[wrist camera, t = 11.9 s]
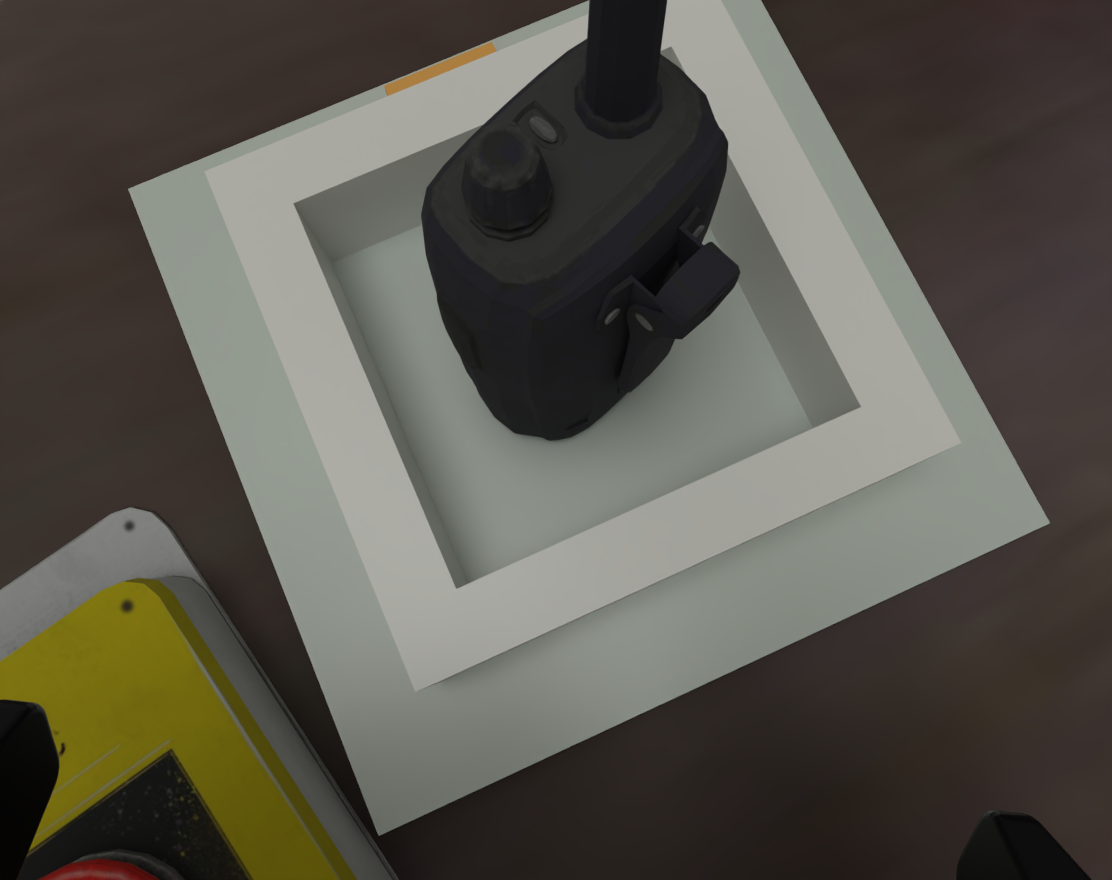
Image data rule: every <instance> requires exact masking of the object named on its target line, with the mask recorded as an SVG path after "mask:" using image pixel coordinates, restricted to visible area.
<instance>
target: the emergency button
mask: <svg viewBox="0 0 1112 880" xmlns="http://www.w3.org/2000/svg"><path fill="white" fill-rule="evenodd" d="M4 699H7V700H16V701H25V702H34V703H37V704H39V705H40V706H41V707H43V708H44V710H45V712H46V715H47V718H48V722H49V725H50V728H51V732H52V735H53V738H54V742H55V745H56V748H57V752H58V755H59V764H60V767H59V774H58V778H57V782H56V785H55V787H54V790H53V792H52V795H51V797H50V800H49V802H48V805H47V807H46V810H45V812H44V815H43V817H42V820H41V822H40V825H39V827H38V829H37V832H36V834H35V837H34V839H33V842H32V844H31V847H30V849H29V852H28V854H27V857H26V859H25V862H24V864H23V867H22V869H21V872H20V874H19V876H18V879H17V880H399V878H398V877H397V875H396V874H395V872H394V871H393V869H392V868H391V866H390V865H389V863H388V862H387V860H386V858H385V857H384V855H383V854H382V852H381V851H380V849H379V848H378V846H377V845H376V843H375V842H374V840H373V838H372V837H371V835H370V834H369V832H368V831H367V829H366V828H365V826H364V825H363V823H362V822H361V820H360V818H359V817H358V815H357V814H356V812H355V811H354V809H353V808H352V806H351V805H350V803H349V802H348V800H347V798H346V797H345V795H344V794H343V792H342V791H341V789H340V788H339V786H338V785H337V783H336V782H335V780H334V778H333V777H332V775H331V774H330V772H329V771H328V769H327V768H326V766H325V765H324V763H323V761H322V760H321V758H320V757H319V755H318V754H317V752H316V751H315V749H314V748H313V746H312V745H311V743H310V741H309V740H308V738H307V737H306V735H305V734H304V732H303V731H302V729H301V728H300V726H299V725H298V723H297V721H296V720H295V718H294V717H293V715H292V714H291V712H290V711H289V709H288V708H287V706H286V705H285V703H284V701H283V700H282V698H281V697H280V695H279V694H278V692H277V691H276V689H275V688H274V686H273V685H272V683H271V681H270V680H269V678H268V677H267V675H266V674H265V672H264V671H263V669H262V668H261V666H260V665H259V663H258V661H257V660H256V658H255V657H254V655H253V654H252V652H251V651H250V649H249V648H248V646H247V645H246V643H245V641H244V640H243V638H242V637H241V635H240V634H239V632H238V631H237V629H236V628H235V626H234V625H233V623H232V621H231V620H230V618H229V617H228V615H227V614H226V612H225V611H224V609H223V608H222V606H221V605H220V603H219V601H218V600H217V598H216V597H215V595H214V594H213V592H212V591H211V589H210V588H209V586H208V585H207V583H206V581H205V580H204V578H203V577H202V575H201V574H200V572H199V571H198V569H197V568H196V566H195V565H194V563H193V561H192V560H191V558H190V557H189V555H188V554H187V552H186V551H185V549H184V548H183V546H182V545H181V543H180V541H179V540H178V538H177V537H176V535H175V534H174V532H173V531H172V529H171V528H170V527H169V526H168V525H167V524H166V523H165V522H164V521H163V520H162V519H161V518H159V517H158V516H157V515H156V514H155V513H152V512H148V511H144V510H140V509H136V508H131V507H130V508H127V509H124V510H121V511H118V512H115V513H112V514H110V515H108V516H107V517H106V518H104V519H103V520H101V521H100V522H98V523H97V524H95V525H94V526H92V527H91V528H90V529H88V530H87V531H85V532H84V533H82V534H81V535H79V536H78V537H77V538H75V539H74V540H72V541H71V542H69V543H68V544H66V545H65V546H63V547H62V548H61V549H59V550H58V551H56V552H55V553H53V554H52V555H50V556H49V557H47V558H46V559H45V560H43V561H42V562H40V563H39V564H37V565H36V566H34V567H33V568H31V569H30V570H29V571H27V572H26V573H24V574H23V575H21V576H20V577H18V578H17V579H16V580H14V581H13V582H11V583H10V584H8V585H7V586H5V587H4V588H2V589H1V590H0V700H4Z"/></svg>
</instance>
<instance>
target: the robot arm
mask: <svg viewBox="0 0 1112 880" xmlns="http://www.w3.org/2000/svg"><path fill="white" fill-rule="evenodd" d="M59 767H60V764H59V755H58V752H57V748H56V745H55V742H54V738H53V735H52V732H51V728H50V725H49V722H48V718H47V715H46V712H45V710H44V708H43V707H41V706H40V705H39V704H37V703H34V702H25V701H16V700H7V699H4V700H0V880H17V879H18V876H19V874H20V872H21V869H22V867H23V864H24V862H25V859H26V857H27V854H28V852H29V849H30V847H31V844H32V842H33V839H34V837H35V834H36V832H37V829H38V827H39V825H40V822H41V820H42V817H43V815H44V812H45V810H46V807H47V805H48V802H49V800H50V797H51V795H52V792H53V790H54V787H55V785H56V782H57V778H58V774H59ZM956 880H1091V879H1090V877H1089V876H1088V875H1087V874H1086V873H1085V872H1084V871H1083V870H1082V869H1081V867H1080V866H1079V865H1078V864H1077V863H1076V862H1075V861H1074V860H1073V859H1072V858H1071V856H1070V855H1069V854H1068V853H1067V852H1066V851H1065V850H1064V849H1063V848H1062V846H1061V845H1060V844H1059V843H1058V842H1057V841H1056V840H1055V839H1054V838H1053V837H1052V835H1051V834H1050V833H1049V832H1048V831H1047V830H1046V829H1045V828H1044V827H1043V826H1042V824H1041V823H1040V822H1038V821H1037V820H1036V819H1034V818H1033V817H1031V816H1030V815H1027V814H1023V813H1014V812H1005V811H996V810H990V811H988V812H986V813H985V814H983V815H982V817H981V818H980V820H979V822H978V824H977V826H976V828H975V830H974V832H973V833H972V835H971V837H970V839H969V841H968V843H967V845H966V847H965V849H964V851H963V853H962V855H961V857H960V859H959V862H958V866H957V874H956Z"/></svg>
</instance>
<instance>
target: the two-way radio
mask: <svg viewBox="0 0 1112 880" xmlns="http://www.w3.org/2000/svg"><path fill="white" fill-rule="evenodd" d="M666 6H667V0H589V15H588V31H587V39H585V40H584V41H582V42H581V43H579V44H578V45H576V46H574V47H573V48H571V49H570V50H568V51H567V52H566V53H564V54H563V55H562V56H561V57H559V58H558V59H557V60H556V61H554V62H553V63H552V64H551V65H549V66H548V67H547V68H546V69H545V70H543V71H542V72H541V73H540V74H538V75H537V76H536V77H535V78H534V79H533V80H532V81H530V82H529V83H528V84H527V85H526V86H525V87H524V88H523V89H521V90H520V91H519V92H518V93H517V94H516V95H515V96H514V97H513V98H512V99H510V100H509V101H508V102H507V103H506V104H505V105H504V106H503V107H502V108H501V109H500V110H499V111H497V112H496V113H495V114H494V115H493V116H492V117H491V118H490V119H489V120H488V121H487V122H486V123H485V124H484V125H483V126H482V127H481V128H480V129H478V130H477V131H476V132H475V133H474V134H473V135H472V136H471V137H470V138H469V139H468V140H467V141H466V142H465V143H464V144H463V145H462V147H461V148H460V149H459V150H458V151H457V152H456V153H455V154H454V155H453V156H452V157H451V158H450V159H449V160H448V161H447V162H446V163H445V164H444V166H443V167H442V168H441V169H440V171H439V172H438V173H437V175H436V176H435V177H434V179H433V180H432V181H431V183H430V184H429V185H428V187H427V188H426V193H425V198H424V202H423V207H422V212H421V220H422V228H423V236H424V245H425V253H426V258H427V262H428V265H429V269H430V272H431V276H432V279H433V283H434V287H435V290H436V293H437V303H438V307H439V310H440V314H441V318H442V321H443V324H444V326H445V329H446V331H447V333H448V335H449V337H450V339H451V341H452V343H453V345H454V347H455V349H456V351H457V352H458V354H459V355H460V358H461V360H462V363H463V365H464V367H465V370H466V372H467V374H468V375H469V376H470V378H471V379H472V381H473V383H474V385H475V386H476V388H477V391H478V393H479V395H480V397H481V398H482V400H483V401H484V403H485V404H486V406H487V407H488V409H489V410H490V412H491V413H492V415H493V416H494V417H495V418H496V419H497V420H498V421H500V422H501V423H502V424H503V425H505V426H506V427H507V428H508V429H510V430H511V431H512V432H513V433H516V434H521V435H528V436H535V437H542V438H544V439H546V440H548V441H554V440H561V439H566V438H570V437H573V436H575V435H576V434H578V433H580V432H582V431H584V430H585V429H587V428H589V427H590V426H592V425H593V424H594V423H595V422H596V421H597V420H599V419H600V418H601V417H602V416H603V415H604V414H606V413H607V412H608V411H609V410H610V409H611V408H612V407H613V406H614V405H615V404H616V403H617V402H618V401H620V400H621V399H622V398H623V397H624V396H625V395H626V394H627V392H631V391H633V390H634V389H635V388H636V387H637V386H639V385H640V384H641V383H642V382H643V381H644V380H645V379H646V378H647V377H648V376H650V375H651V374H652V372H653V371H654V370H655V369H656V368H657V367H658V366H659V364H660V363H661V362H662V361H663V360H664V359H665V358H666V356H667V355H668V354H669V352H670V350H671V348H672V345H673V343H674V341H675V339H683V338H684V337H686V336H687V335H688V334H689V333H690V332H691V331H693V330H694V329H695V328H696V327H697V326H698V325H699V324H701V323H702V322H703V321H704V320H705V319H706V318H708V317H709V316H710V315H711V314H712V313H713V311H714V310H715V309H716V308H717V307H718V306H719V304H720V303H721V302H722V301H723V300H724V299H725V298H726V296H727V295H728V294H729V293H730V292H731V291H732V289H733V288H734V287H735V285H736V283H737V281H738V278H739V275H740V269H739V266H738V265H737V264H736V263H735V262H734V261H732V260H731V259H730V258H729V257H728V256H727V255H726V254H725V253H723V252H722V251H721V250H720V249H719V247H717V246H716V245H715V244H714V243H713V242H708V243H707V244H705V245H703V244H702V241H703V239H704V237H705V235H706V233H707V230H708V228H709V225H710V222H711V219H712V216H713V213H714V210H715V207H716V204H717V201H718V198H719V195H720V192H721V188H722V185H723V181H724V178H725V174H726V170H727V156H728V140H727V138H726V136H725V134H724V132H723V131H722V130H721V129H720V128H719V126H718V124H717V122H716V120H715V117H714V114H713V112H712V109H711V106H710V104H709V101H708V99H707V96H706V94H705V93H704V92H703V91H702V90H701V89H700V88H699V87H698V86H697V85H696V84H695V83H694V82H693V81H692V80H691V79H690V78H689V77H688V76H687V75H686V74H685V73H684V72H683V71H682V70H681V69H680V68H679V67H678V66H677V65H675V64H674V63H673V62H671V61H670V60H668V59H667V58H666V57H664V56H663V55H661V54H660V52H661V44H662V37H663V29H664V21H665V14H666Z"/></svg>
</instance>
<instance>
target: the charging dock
mask: <svg viewBox="0 0 1112 880" xmlns="http://www.w3.org/2000/svg"><path fill="white" fill-rule="evenodd" d="M588 15H589V1H586V2H584V3H582V4H579V5H577V6H574V7H572V8H569V9H567V10H564V11H562V12H560V13H557V14H555V15H552V16H550V17H547V18H545V19H542V20H540V21H538V22H535V23H533V24H530V25H528V26H525V27H523V28H520V29H518V30H516V31H513V32H511V33H508V34H506V35H503V36H501V37H498V38H496V39H494V40H491V41H489V42H486V43H484V44H481V45H479V46H476V47H474V48H472V49H469V50H467V51H464V52H462V53H459V54H457V55H454V56H452V57H450V58H447V59H445V60H442V61H440V62H437V63H435V64H432V65H430V66H428V67H425V68H423V69H420V70H418V71H415V72H413V73H410V74H408V75H406V76H403V77H401V78H398V79H396V80H393V81H391V82H388V83H386V84H384V85H381V86H379V87H376V88H374V89H371V90H369V91H366V92H364V93H362V94H359V95H357V96H354V97H352V98H349V99H347V100H344V101H342V102H340V103H337V104H335V105H332V106H330V107H327V108H325V109H322V110H320V111H318V112H315V113H313V114H310V115H308V116H305V117H303V118H300V119H298V120H296V121H293V122H291V123H288V124H286V125H283V126H281V127H278V128H276V129H274V130H271V131H269V132H266V133H264V134H261V135H259V136H256V137H254V138H252V139H249V140H247V141H244V142H242V143H239V144H237V145H234V146H232V147H230V148H227V149H225V150H222V151H220V152H217V153H215V154H212V155H210V156H208V157H205V158H203V159H200V160H198V161H195V162H193V163H190V164H188V165H186V166H183V167H181V168H178V169H176V170H173V171H171V172H168V173H166V174H164V175H161V176H159V177H156V178H154V179H151V180H149V181H146V182H144V183H142V184H139V185H137V186H134V187H132V188H129V189H128V190H129V192H130V195H131V197H132V200H133V203H134V205H135V208H136V210H137V213H138V215H139V218H140V221H141V223H142V226H143V228H144V231H145V234H146V236H147V239H148V241H149V244H150V246H151V249H152V252H153V254H154V257H155V259H156V262H157V265H158V267H159V270H160V272H161V275H162V278H163V280H164V283H165V285H166V288H167V290H168V293H169V296H170V298H171V301H172V303H173V306H174V309H175V311H176V314H177V316H178V319H179V321H180V324H181V327H182V329H183V332H184V334H185V337H186V340H187V342H188V345H189V347H190V350H191V352H192V355H193V358H194V360H195V363H196V365H197V368H198V371H199V373H200V376H201V378H202V381H203V384H204V386H205V389H206V391H207V394H208V396H209V399H210V402H211V404H212V407H213V409H214V412H215V415H216V417H217V420H218V422H219V425H220V427H221V430H222V433H223V435H224V438H225V440H226V443H227V446H228V448H229V451H230V453H231V456H232V459H233V461H234V464H235V466H236V469H237V471H238V474H239V477H240V479H241V482H242V484H243V487H244V490H245V492H246V495H247V497H248V500H249V502H250V505H251V508H252V510H253V513H254V515H255V518H256V521H257V523H258V526H259V528H260V531H261V533H262V536H263V539H264V541H265V544H266V546H267V549H268V552H269V554H270V557H271V559H272V562H273V565H274V567H275V570H276V572H277V575H278V577H279V580H280V583H281V585H282V588H283V590H284V593H285V596H286V598H287V601H288V603H289V606H290V608H291V611H292V614H293V616H294V619H295V621H296V624H297V627H298V629H299V632H300V634H301V637H302V639H303V642H304V645H305V647H306V650H307V652H308V655H309V658H310V660H311V663H312V665H313V668H314V671H315V673H316V676H317V678H318V681H319V683H320V686H321V689H322V691H323V694H324V696H325V699H326V702H327V704H328V707H329V709H330V712H331V714H332V717H333V720H334V722H335V725H336V727H337V730H338V733H339V735H340V738H341V740H342V743H343V746H344V748H345V751H346V753H347V756H348V758H349V761H350V764H351V766H352V769H353V771H354V774H355V777H356V779H357V782H358V784H359V787H360V789H361V792H362V795H363V797H364V800H365V802H366V805H367V808H368V810H369V813H370V815H371V818H372V820H373V823H374V826H375V828H376V831H377V833H378V836H380V835H382V834H384V833H386V832H388V831H391V830H393V829H395V828H397V827H399V826H401V825H403V824H406V823H408V822H410V821H412V820H414V819H416V818H418V817H421V816H423V815H425V814H427V813H429V812H431V811H433V810H436V809H438V808H440V807H442V806H444V805H446V804H448V803H451V802H453V801H455V800H457V799H459V798H461V797H463V796H466V795H468V794H470V793H472V792H474V791H476V790H478V789H481V788H483V787H485V786H487V785H489V784H491V783H494V782H496V781H498V780H500V779H502V778H504V777H506V776H509V775H511V774H513V773H515V772H517V771H519V770H521V769H524V768H526V767H528V766H530V765H532V764H534V763H536V762H539V761H541V760H543V759H545V758H547V757H549V756H551V755H554V754H556V753H558V752H560V751H562V750H564V749H566V748H569V747H571V746H573V745H575V744H577V743H579V742H581V741H584V740H586V739H588V738H590V737H592V736H594V735H596V734H599V733H601V732H603V731H605V730H607V729H609V728H611V727H614V726H616V725H618V724H620V723H622V722H624V721H627V720H629V719H631V718H633V717H635V716H637V715H639V714H642V713H644V712H646V711H648V710H650V709H652V708H654V707H657V706H659V705H661V704H663V703H665V702H667V701H669V700H672V699H674V698H676V697H678V696H680V695H682V694H684V693H687V692H689V691H691V690H693V689H695V688H697V687H699V686H702V685H704V684H706V683H708V682H710V681H712V680H714V679H717V678H719V677H721V676H723V675H725V674H727V673H729V672H732V671H734V670H736V669H738V668H740V667H742V666H744V665H747V664H749V663H751V662H753V661H755V660H757V659H760V658H762V657H764V656H766V655H768V654H770V653H772V652H775V651H777V650H779V649H781V648H783V647H785V646H787V645H790V644H792V643H794V642H796V641H798V640H800V639H802V638H805V637H807V636H809V635H811V634H813V633H815V632H817V631H820V630H822V629H824V628H826V627H828V626H830V625H832V624H835V623H837V622H839V621H841V620H843V619H845V618H847V617H850V616H852V615H854V614H856V613H858V612H860V611H862V610H865V609H867V608H869V607H871V606H873V605H875V604H877V603H880V602H882V601H884V600H886V599H888V598H890V597H893V596H895V595H897V594H899V593H901V592H903V591H905V590H908V589H910V588H912V587H914V586H916V585H918V584H920V583H923V582H925V581H927V580H929V579H931V578H933V577H935V576H938V575H940V574H942V573H944V572H946V571H948V570H950V569H953V568H955V567H957V566H959V565H961V564H963V563H965V562H968V561H970V560H972V559H974V558H976V557H978V556H980V555H983V554H985V553H987V552H989V551H991V550H993V549H995V548H998V547H1000V546H1002V545H1004V544H1006V543H1008V542H1010V541H1013V540H1015V539H1017V538H1019V537H1021V536H1023V535H1026V534H1028V533H1030V532H1032V531H1034V530H1036V529H1038V528H1041V527H1043V526H1045V525H1047V524H1049V521H1048V519H1047V517H1046V515H1045V513H1044V512H1043V510H1042V508H1041V506H1040V504H1039V503H1038V501H1037V499H1036V497H1035V495H1034V494H1033V492H1032V490H1031V488H1030V486H1029V485H1028V483H1027V481H1026V479H1025V477H1024V476H1023V474H1022V472H1021V470H1020V468H1019V466H1018V465H1017V463H1016V461H1015V459H1014V457H1013V456H1012V454H1011V452H1010V450H1009V448H1008V447H1007V445H1006V443H1005V441H1004V439H1003V438H1002V436H1001V434H1000V432H999V430H998V428H997V427H996V425H995V423H994V421H993V419H992V418H991V416H990V414H989V412H988V410H987V409H986V407H985V405H984V403H983V401H982V400H981V398H980V396H979V394H978V392H977V390H976V389H975V387H974V385H973V383H972V381H971V380H970V378H969V376H968V374H967V372H966V371H965V369H964V367H963V365H962V363H961V362H960V360H959V358H958V356H957V354H956V352H955V351H954V349H953V347H952V345H951V343H950V342H949V340H948V338H947V336H946V334H945V333H944V331H943V329H942V327H941V325H940V324H939V322H938V320H937V318H936V316H935V314H934V313H933V311H932V309H931V307H930V305H929V304H928V302H927V300H926V298H925V296H924V295H923V293H922V291H921V289H920V287H919V286H918V284H917V282H916V280H915V278H914V276H913V275H912V273H911V271H910V269H909V267H908V266H907V264H906V262H905V260H904V258H903V257H902V255H901V253H900V251H899V249H898V248H897V246H896V244H895V242H894V240H893V238H892V237H891V235H890V233H889V231H888V229H887V228H886V226H885V224H884V222H883V220H882V219H881V217H880V215H879V213H878V211H877V210H876V208H875V206H874V204H873V202H872V200H871V199H870V197H869V195H868V193H867V191H866V190H865V188H864V186H863V184H862V182H861V181H860V179H859V177H858V175H857V173H856V172H855V170H854V168H853V166H852V164H851V162H850V161H849V159H848V157H847V155H846V153H845V152H844V150H843V148H842V146H841V144H840V143H839V141H838V139H837V137H836V135H835V134H834V132H833V130H832V128H831V126H830V124H829V123H828V121H827V119H826V117H825V115H824V114H823V112H822V110H821V108H820V106H819V105H818V103H817V101H816V99H815V97H814V96H813V94H812V92H811V90H810V88H809V86H808V85H807V83H806V81H805V79H804V77H803V76H802V74H801V72H800V70H799V68H798V67H797V65H796V63H795V61H794V59H793V58H792V56H791V54H790V52H789V50H788V48H787V47H786V45H785V43H784V41H783V39H782V38H781V36H780V34H779V32H778V30H777V29H776V27H775V25H774V23H773V21H772V20H771V18H770V16H769V14H768V12H767V10H766V9H765V7H764V5H763V3H762V1H761V0H667V6H666V14H665V21H664V29H663V37H662V44H661V52H660V54H661V55H663V56H664V57H666V58H667V59H668V60H670V61H671V62H673V63H674V64H675V65H677V66H678V67H679V68H680V69H681V70H682V71H683V72H684V73H685V74H686V75H687V76H688V77H689V78H690V79H691V80H692V81H693V82H694V83H695V84H696V85H697V86H698V87H699V88H700V89H701V90H702V91H703V92H704V93H705V94H706V96H707V99H708V101H709V104H710V106H711V109H712V112H713V114H714V117H715V120H716V122H717V124H718V126H719V128H720V129H721V130H722V131H723V132H724V134H725V136H726V138H727V140H728V156H727V170H726V174H725V178H724V181H723V185H722V188H721V192H720V195H719V198H718V201H717V204H716V207H715V210H714V213H713V216H712V219H711V222H710V225H709V228H708V230H707V233H706V235H705V237H704V239H703V241H702V244H703V245H705V244H707V243H708V242H713V243H714V244H715V245H716V246H717V247H719V249H720V250H721V251H722V252H723V253H725V254H726V255H727V256H728V257H729V258H730V259H731V260H732V261H734V262H735V263H736V264H737V265H738V266H739V269H740V275H739V278H738V281H737V283H736V285H735V287H734V288H733V289H732V291H731V292H730V293H729V294H728V295H727V296H726V298H725V299H724V300H723V301H722V302H721V303H720V304H719V306H718V307H717V308H716V309H715V310H714V311H713V313H712V314H711V315H710V316H709V317H708V318H706V319H705V320H704V321H703V322H702V323H701V324H699V325H698V326H697V327H696V328H695V329H694V330H693V331H691V332H690V333H689V334H688V335H687V336H686V337H684V338H683V339H675V341H674V343H673V345H672V348H671V350H670V352H669V354H668V355H667V356H666V358H665V359H664V360H663V361H662V362H661V363H660V364H659V366H658V367H657V368H656V369H655V370H654V371H653V372H652V374H651V375H650V376H648V377H647V378H646V379H645V380H644V381H643V382H642V383H641V384H640V385H639V386H637V387H636V388H635V389H634V390H633V391H631V392H627V394H626V395H625V396H624V397H623V398H622V399H621V400H620V401H618V402H617V403H616V404H615V405H614V406H613V407H612V408H611V409H610V410H609V411H608V412H607V413H606V414H604V415H603V416H602V417H601V418H600V419H599V420H597V421H596V422H595V423H594V424H593V425H592V426H590V427H589V428H587V429H585V430H584V431H582V432H580V433H578V434H576V435H575V436H573V437H570V438H566V439H561V440H554V441H548V440H546V439H544V438H542V437H535V436H528V435H521V434H516V433H513V432H512V431H511V430H510V429H508V428H507V427H506V426H505V425H503V424H502V423H501V422H500V421H498V420H497V419H496V418H495V417H494V416H493V415H492V413H491V412H490V410H489V409H488V407H487V406H486V404H485V403H484V401H483V400H482V398H481V397H480V395H479V393H478V391H477V388H476V386H475V385H474V383H473V381H472V379H471V378H470V376H469V375H468V374H467V372H466V370H465V367H464V365H463V363H462V360H461V358H460V355H459V354H458V352H457V351H456V349H455V347H454V345H453V343H452V341H451V339H450V337H449V335H448V333H447V331H446V329H445V326H444V324H443V321H442V318H441V314H440V310H439V307H438V303H437V293H436V290H435V287H434V283H433V279H432V276H431V272H430V269H429V265H428V262H427V258H426V253H425V245H424V236H423V228H422V220H421V212H422V207H423V202H424V198H425V193H426V188H427V187H428V185H429V184H430V183H431V181H432V180H433V179H434V177H435V176H436V175H437V173H438V172H439V171H440V169H441V168H442V167H443V166H444V164H445V163H446V162H447V161H448V160H449V159H450V158H451V157H452V156H453V155H454V154H455V153H456V152H457V151H458V150H459V149H460V148H461V147H462V145H463V144H464V143H465V142H466V141H467V140H468V139H469V138H470V137H471V136H472V135H473V134H474V133H475V132H476V131H477V130H478V129H480V128H481V127H482V126H483V125H484V124H485V123H486V122H487V121H488V120H489V119H490V118H491V117H492V116H493V115H494V114H495V113H496V112H497V111H499V110H500V109H501V108H502V107H503V106H504V105H505V104H506V103H507V102H508V101H509V100H510V99H512V98H513V97H514V96H515V95H516V94H517V93H518V92H519V91H520V90H521V89H523V88H524V87H525V86H526V85H527V84H528V83H529V82H530V81H532V80H533V79H534V78H535V77H536V76H537V75H538V74H540V73H541V72H542V71H543V70H545V69H546V68H547V67H548V66H549V65H551V64H552V63H553V62H554V61H556V60H557V59H558V58H559V57H561V56H562V55H563V54H564V53H566V52H567V51H568V50H570V49H571V48H573V47H574V46H576V45H578V44H579V43H581V42H582V41H584V40H585V39H587V31H588Z"/></svg>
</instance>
